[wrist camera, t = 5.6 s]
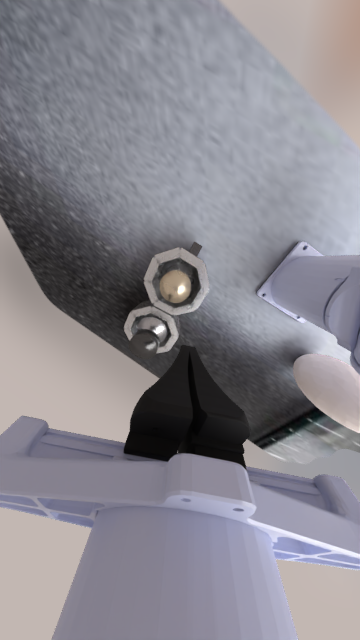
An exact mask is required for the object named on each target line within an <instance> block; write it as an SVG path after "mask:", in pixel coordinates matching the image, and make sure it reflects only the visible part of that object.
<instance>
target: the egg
mask: <svg viewBox="0 0 360 640" xmlns="http://www.w3.org/2000/svg"><path fill="white" fill-rule="evenodd" d="M293 374H294V378H295V380H296V383H297V385H298V386H299V388H300V389H301V390H302V392H303V393H304V394H305V396H306V397H307V398H308V399H309V400H310V401H311V402H312V403H313V404H314V405H315V406H316V407H317V408H319V409H320V410H321V411H322V412H324V413H325V414H327V415H328V416H329V417H331V418H332V419H334V420H335V421H337V422H339V423H340V424H342V425H344V426H345V427H347V428H349V429H351V430H353V431H356V432H358V433H360V375H359V374H358V373H357V372H356V371H355V369H354V368H353V367H352V366H350V365H349V364H347V363H345V362H343V361H341V360H339V359H336V358H333V357H330V356H327V355H321V354H305V355H302V356H300V357H299V358H297V359H296V361H295V362H294V366H293Z"/></svg>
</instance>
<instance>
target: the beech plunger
mask: <svg viewBox="0 0 360 640" xmlns="http://www.w3.org/2000/svg"><path fill="white" fill-rule="evenodd" d="M193 287H194V276H193V273H192V271H191V270H190V269H189V268H188V267H187V266H185V265H182V264H175V265H172V266H170V267H168V268H167V269H166V270H165V272H164V274H163V277H162V279H161V281H160V285H159V288H160V292H161V294H162V296H163V297H164V298H165V299H166V300H167V301H169V302H172V303H179V302H182V301H184V300H185V299H186V298H187V297H188V296H189V294H190V292H191V291H192V289H193Z"/></svg>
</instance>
